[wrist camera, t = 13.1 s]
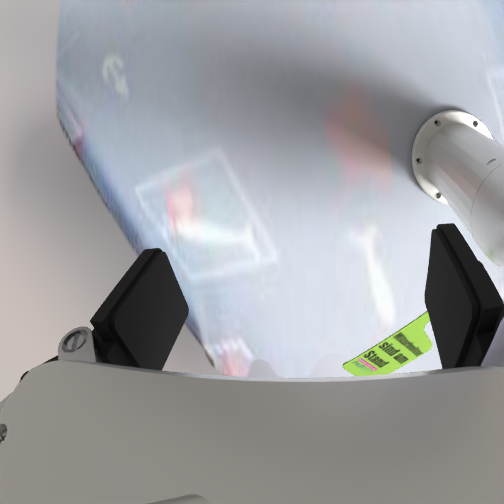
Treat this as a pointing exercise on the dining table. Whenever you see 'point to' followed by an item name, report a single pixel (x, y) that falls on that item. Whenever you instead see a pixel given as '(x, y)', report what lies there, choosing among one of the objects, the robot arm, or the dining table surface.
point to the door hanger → (393, 350)
